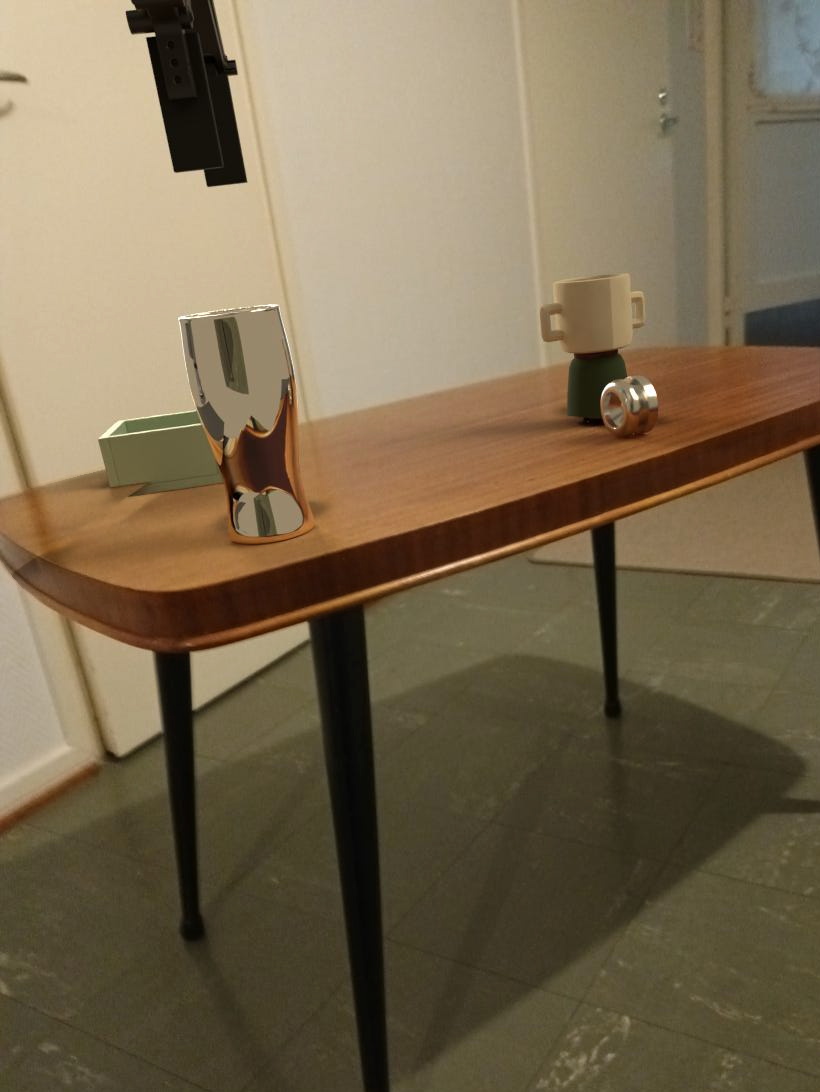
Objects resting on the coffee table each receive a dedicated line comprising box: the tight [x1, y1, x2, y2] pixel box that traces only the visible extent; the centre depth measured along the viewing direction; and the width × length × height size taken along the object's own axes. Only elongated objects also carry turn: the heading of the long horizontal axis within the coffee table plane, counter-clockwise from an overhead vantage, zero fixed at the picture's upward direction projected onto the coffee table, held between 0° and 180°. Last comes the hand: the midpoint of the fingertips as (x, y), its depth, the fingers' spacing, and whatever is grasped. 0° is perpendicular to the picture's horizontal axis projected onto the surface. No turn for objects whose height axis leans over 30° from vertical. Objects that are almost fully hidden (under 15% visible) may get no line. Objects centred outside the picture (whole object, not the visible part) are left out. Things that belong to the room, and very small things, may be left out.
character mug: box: [539, 273, 647, 423], centre depth 93 cm, size 11×7×13 cm, turn 112°
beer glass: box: [177, 304, 316, 545], centre depth 67 cm, size 7×7×15 cm
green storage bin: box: [97, 409, 223, 498], centre depth 90 cm, size 10×10×5 cm
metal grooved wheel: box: [600, 374, 659, 438], centre depth 86 cm, size 5×3×5 cm, turn 27°
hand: (214, 178), depth 61 cm, fingers open, 13 cm apart
